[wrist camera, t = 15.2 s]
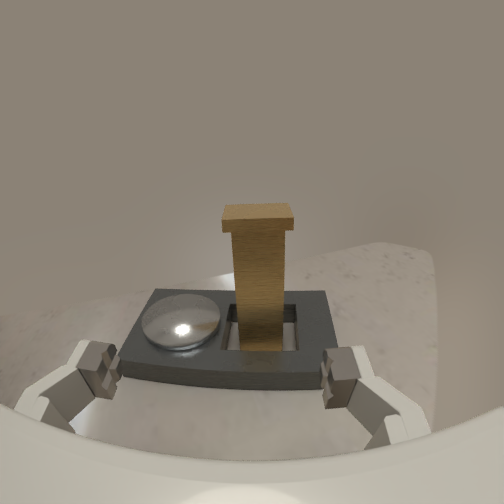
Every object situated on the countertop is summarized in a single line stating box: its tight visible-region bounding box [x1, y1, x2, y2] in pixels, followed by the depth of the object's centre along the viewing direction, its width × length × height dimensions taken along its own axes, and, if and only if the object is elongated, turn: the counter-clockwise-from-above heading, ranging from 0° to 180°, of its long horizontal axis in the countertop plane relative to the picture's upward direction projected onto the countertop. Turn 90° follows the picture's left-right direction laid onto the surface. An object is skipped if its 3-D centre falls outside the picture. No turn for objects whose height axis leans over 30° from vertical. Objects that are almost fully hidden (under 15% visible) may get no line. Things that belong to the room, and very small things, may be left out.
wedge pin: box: [222, 203, 294, 351], centre depth 26 cm, size 5×4×14 cm
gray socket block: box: [117, 289, 338, 390], centre depth 28 cm, size 20×12×3 cm, turn 86°
